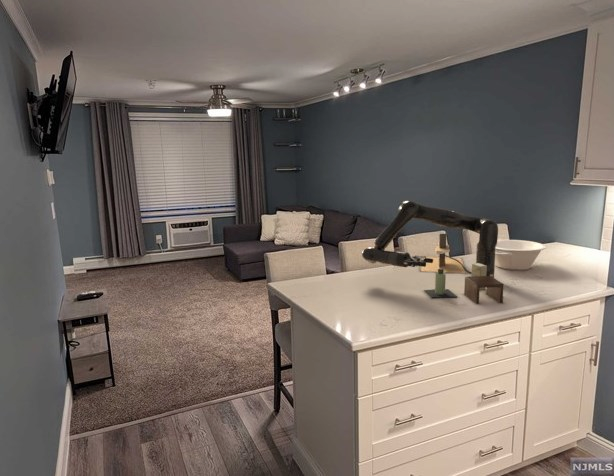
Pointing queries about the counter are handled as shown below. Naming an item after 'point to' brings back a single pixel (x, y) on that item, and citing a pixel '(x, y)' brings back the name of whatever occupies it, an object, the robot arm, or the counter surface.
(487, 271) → the robot arm
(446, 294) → the mat
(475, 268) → the cosmetic box
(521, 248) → the white wash basin
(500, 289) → the shelf
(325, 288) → the counter surface
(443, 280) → the bottle
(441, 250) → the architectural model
